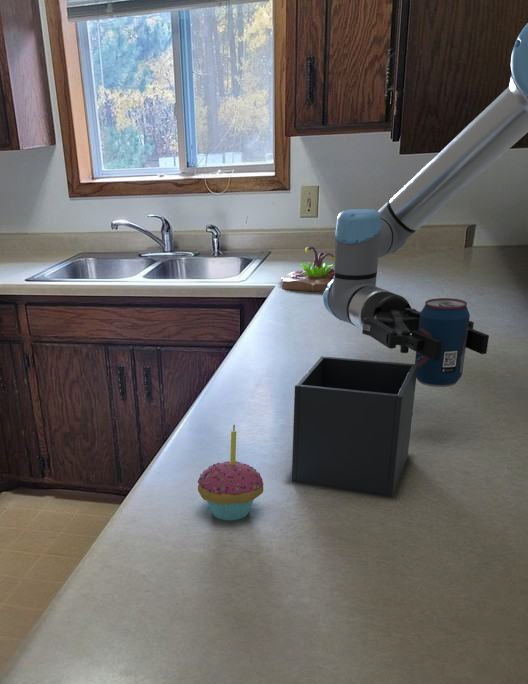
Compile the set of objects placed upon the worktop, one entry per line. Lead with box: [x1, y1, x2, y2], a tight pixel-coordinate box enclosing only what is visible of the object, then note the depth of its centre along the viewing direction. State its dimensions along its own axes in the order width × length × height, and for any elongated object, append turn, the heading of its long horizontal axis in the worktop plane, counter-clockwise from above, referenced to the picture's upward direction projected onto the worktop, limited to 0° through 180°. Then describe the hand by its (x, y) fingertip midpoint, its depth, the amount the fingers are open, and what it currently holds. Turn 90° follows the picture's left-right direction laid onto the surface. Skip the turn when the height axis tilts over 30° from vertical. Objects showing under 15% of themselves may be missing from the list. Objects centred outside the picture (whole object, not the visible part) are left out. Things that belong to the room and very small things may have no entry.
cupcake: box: [197, 424, 264, 521], centre depth 95 cm, size 9×8×12 cm
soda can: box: [414, 297, 471, 388], centre depth 110 cm, size 7×7×12 cm
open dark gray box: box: [291, 356, 418, 498], centre depth 104 cm, size 14×14×15 cm
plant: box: [281, 246, 335, 293], centre depth 220 cm, size 20×20×11 cm
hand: (461, 347), depth 106 cm, fingers closed on soda can, 7 cm apart
